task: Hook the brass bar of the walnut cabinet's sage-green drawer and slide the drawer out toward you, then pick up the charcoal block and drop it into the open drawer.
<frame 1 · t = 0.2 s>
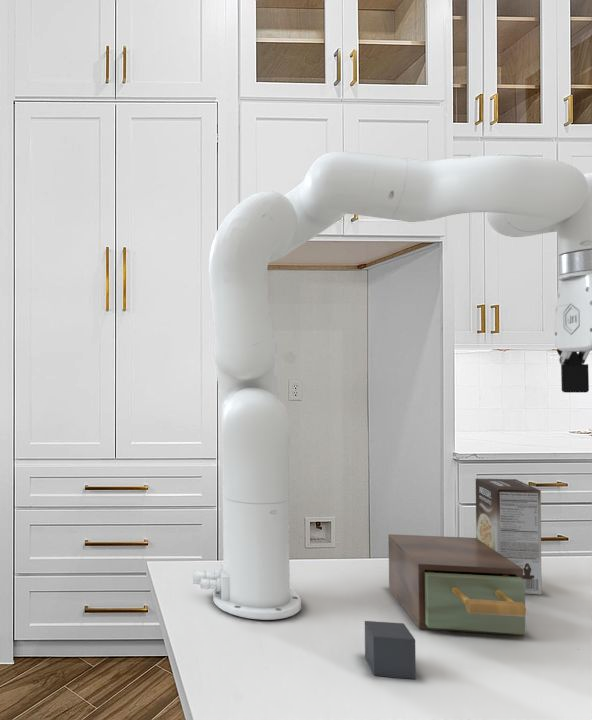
coffee box: (507, 585, 96), on the kitchen island
drawer: (464, 594, 80), point 4 cm above the kitchen island, slide at 0.5 cm
block: (389, 668, 69), on the kitchen island
cabinet: (450, 610, 85), on the kitchen island
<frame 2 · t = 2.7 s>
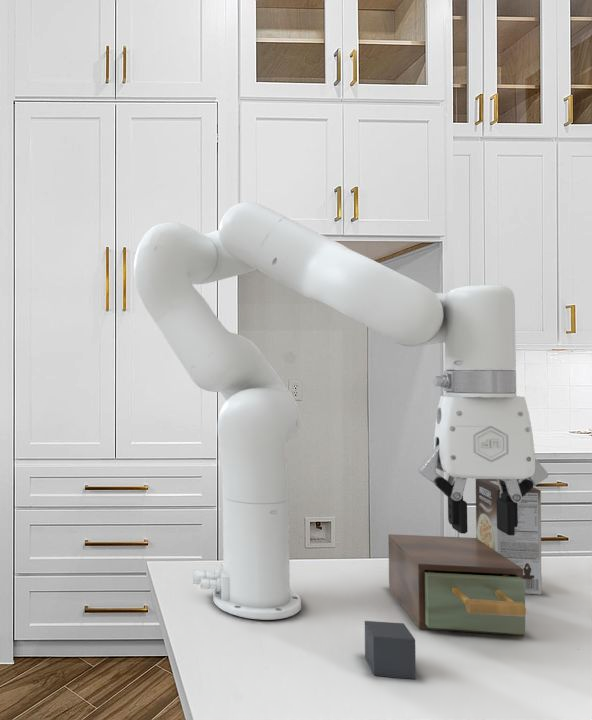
hand: (482, 530, 75), 14 cm above the kitchen island, tool pointing down, fingers open, 4 cm apart
nothing on the kitchen island moved.
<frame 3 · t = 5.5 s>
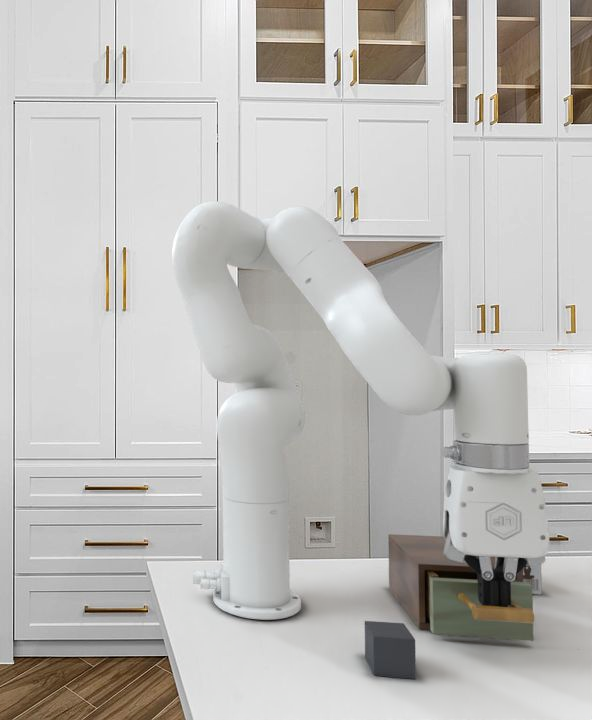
hand: (494, 610, 72), 6 cm above the kitchen island, tool pointing down, fingers closed
drawer: (470, 599, 78), point 4 cm above the kitchen island, slide at 2.4 cm, touching gripper
everything else where it was.
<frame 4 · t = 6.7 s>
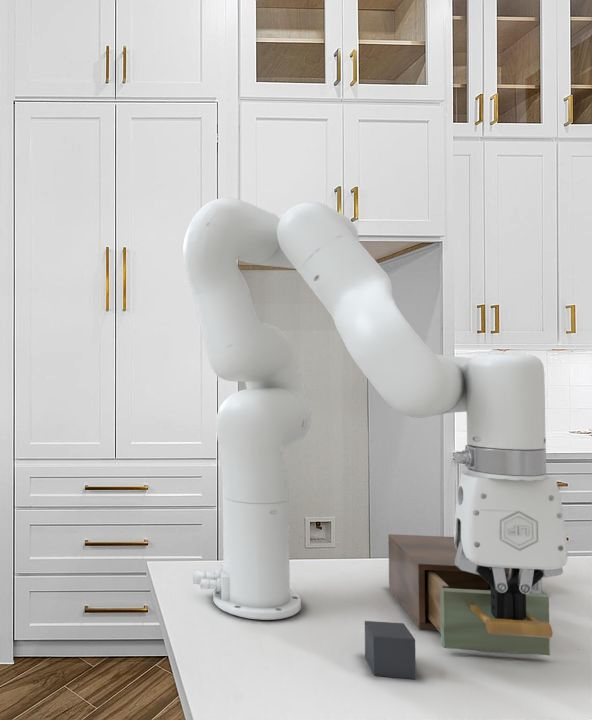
hand: (508, 624, 68), 5 cm above the kitchen island, tool pointing down, fingers closed
drawer: (483, 610, 75), point 4 cm above the kitchen island, slide at 6.2 cm, touching gripper
everything else where it was.
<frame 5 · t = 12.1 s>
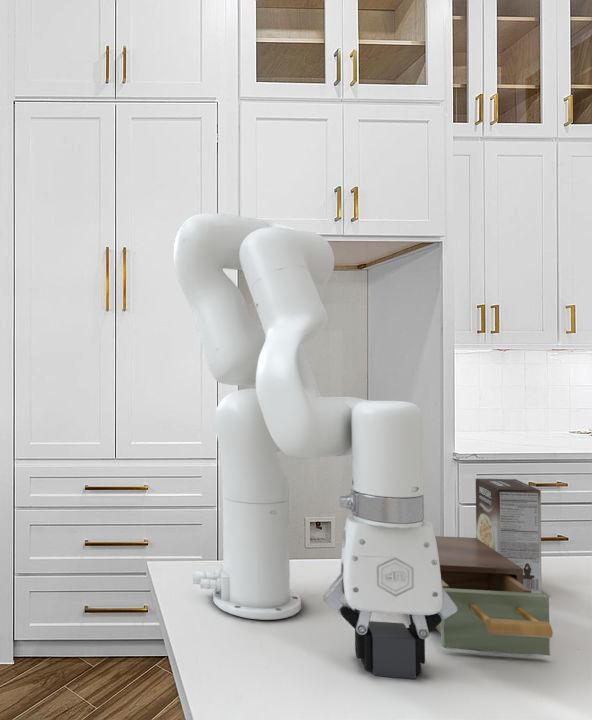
hand: (389, 664, 69), 0 cm above the kitchen island, tool pointing down, fingers closed on block, 4 cm apart
drawer: (483, 610, 75), point 4 cm above the kitchen island, slide at 6.2 cm
block: (389, 668, 69), on the kitchen island, touching gripper
everything else where it was.
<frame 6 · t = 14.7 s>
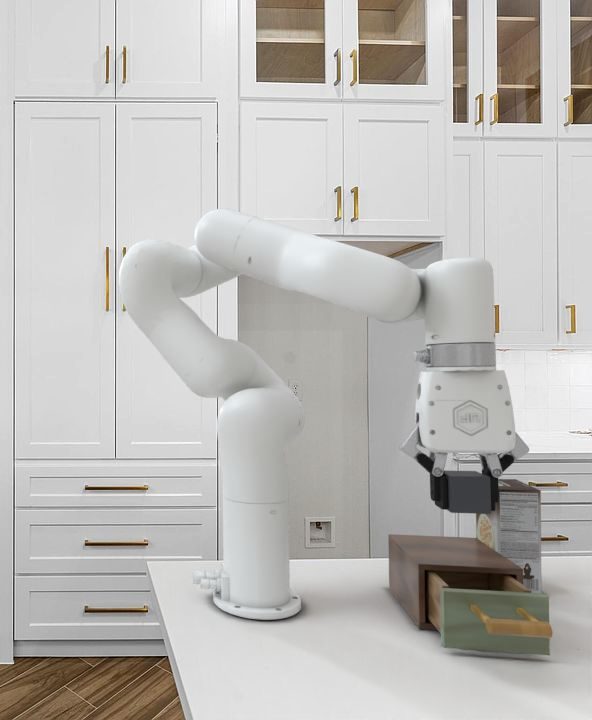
hand: (464, 506, 74), 18 cm above the kitchen island, tool pointing down, fingers closed on block, 4 cm apart
block: (464, 509, 74), point 17 cm above the kitchen island, touching gripper
everything else where it was.
when the fingers open (8 cm above the kitchen island, at t = 17.7 s): block drops 6 cm, resting on drawer.
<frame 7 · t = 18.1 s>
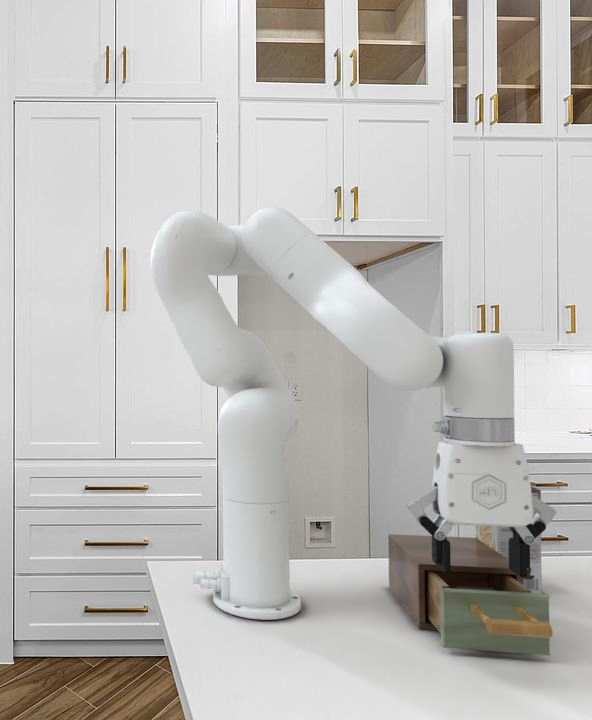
hand: (479, 570, 75), 9 cm above the kitchen island, tool pointing down, fingers open, 8 cm apart
drawer: (483, 610, 75), point 4 cm above the kitchen island, slide at 6.2 cm, touching block
block: (481, 628, 75), point 2 cm above the kitchen island, touching drawer
everything else where it was.
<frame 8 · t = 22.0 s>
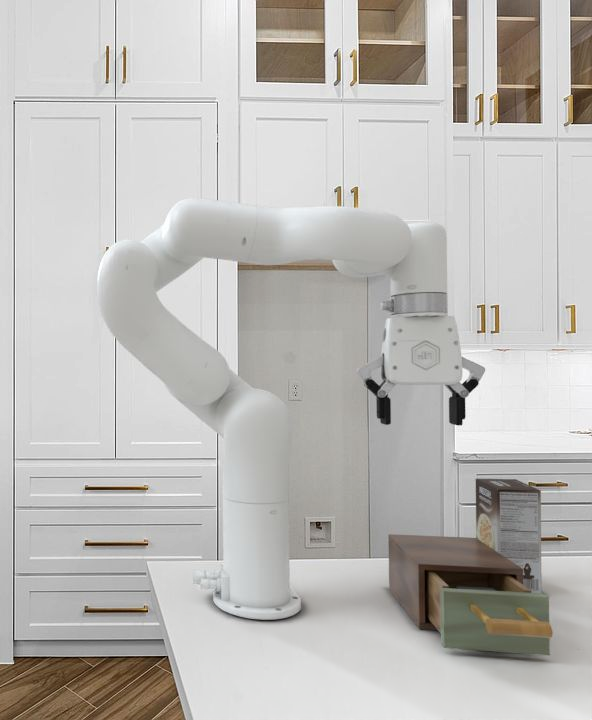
hand: (420, 424, 88), 26 cm above the kitchen island, tool pointing down, fingers open, 9 cm apart
nothing on the kitchen island moved.
at the end: drawer slide at 6.2 cm; block inside the target area in the drawer (0.8 cm from its centre), point 2.0 cm above the cabinet's base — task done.
